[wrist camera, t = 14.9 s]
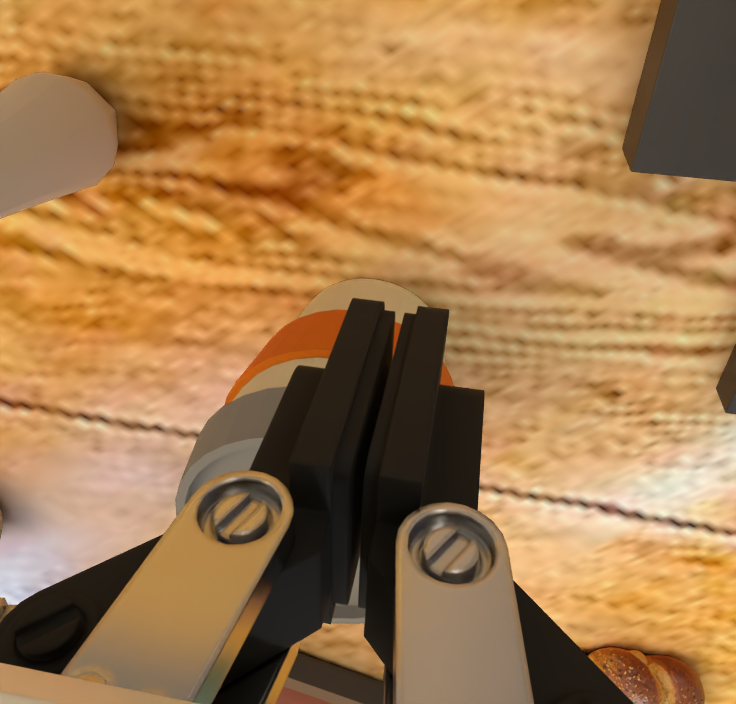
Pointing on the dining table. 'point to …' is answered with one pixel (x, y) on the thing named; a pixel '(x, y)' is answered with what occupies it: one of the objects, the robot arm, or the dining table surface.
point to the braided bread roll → (650, 677)
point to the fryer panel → (687, 94)
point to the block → (728, 385)
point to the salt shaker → (52, 140)
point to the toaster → (328, 685)
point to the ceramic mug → (0, 523)
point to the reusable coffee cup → (268, 383)
